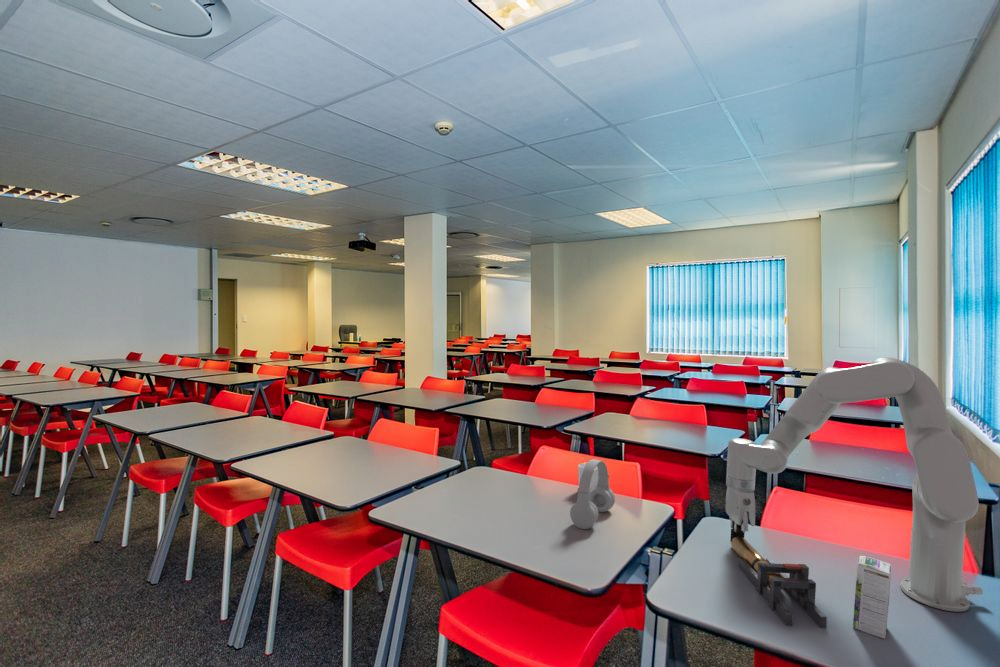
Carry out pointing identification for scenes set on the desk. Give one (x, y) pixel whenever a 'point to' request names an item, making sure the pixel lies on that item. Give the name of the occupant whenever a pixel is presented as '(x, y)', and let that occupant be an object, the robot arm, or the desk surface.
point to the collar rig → (794, 584)
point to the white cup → (593, 480)
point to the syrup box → (872, 596)
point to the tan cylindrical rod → (751, 556)
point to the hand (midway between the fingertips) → (736, 543)
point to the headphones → (592, 496)
